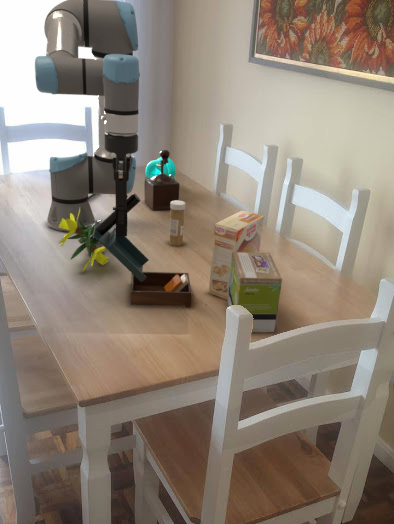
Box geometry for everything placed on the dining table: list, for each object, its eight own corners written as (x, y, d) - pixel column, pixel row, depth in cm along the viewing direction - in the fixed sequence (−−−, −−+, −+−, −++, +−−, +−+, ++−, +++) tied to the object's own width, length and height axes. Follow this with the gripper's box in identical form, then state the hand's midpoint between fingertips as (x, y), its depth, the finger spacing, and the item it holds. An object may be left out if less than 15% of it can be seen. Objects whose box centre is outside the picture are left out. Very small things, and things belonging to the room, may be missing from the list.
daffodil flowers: (134, 243, 181) (120, 258, 148) (94, 265, 183) (71, 285, 150) (106, 195, 177) (86, 198, 143) (66, 218, 179) (36, 227, 145)
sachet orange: (166, 289, 152) (163, 287, 152) (179, 276, 151) (177, 273, 151) (169, 296, 149) (167, 294, 148) (183, 283, 148) (180, 281, 147)
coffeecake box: (230, 301, 150) (238, 230, 140) (207, 293, 153) (213, 223, 143) (256, 282, 161) (265, 215, 151) (234, 275, 164) (241, 209, 154)
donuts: (176, 182, 239) (177, 158, 234) (165, 188, 231) (166, 163, 226) (155, 178, 242) (156, 154, 237) (144, 184, 235) (144, 159, 229)
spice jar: (185, 245, 181) (188, 203, 174) (173, 247, 179) (175, 205, 172) (178, 240, 184) (180, 199, 177) (165, 242, 182) (167, 200, 175)
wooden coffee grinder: (180, 208, 211) (183, 159, 201) (152, 210, 207) (153, 159, 197) (166, 196, 223) (168, 148, 213) (139, 197, 219) (140, 149, 209)
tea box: (225, 303, 149) (231, 250, 141) (263, 304, 150) (271, 251, 142) (233, 333, 136) (240, 276, 128) (275, 333, 137) (284, 277, 129)
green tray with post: (95, 221, 143) (133, 186, 139) (141, 266, 150) (178, 233, 146) (92, 235, 134) (132, 198, 131) (141, 282, 142) (180, 248, 138)
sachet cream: (184, 273, 151) (186, 275, 152) (170, 286, 152) (173, 288, 153) (186, 280, 147) (188, 282, 148) (172, 293, 149) (175, 295, 149)
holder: (131, 285, 154) (131, 271, 152) (187, 286, 156) (188, 272, 154) (130, 306, 144) (130, 291, 142) (190, 307, 146) (191, 292, 143)
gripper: (106, 124, 134) (107, 221, 146) (102, 139, 120) (104, 244, 133) (138, 126, 134) (137, 222, 147) (138, 141, 121) (136, 245, 134)
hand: (121, 233), depth 140 cm, fingers closed on green tray with post, 2 cm apart
